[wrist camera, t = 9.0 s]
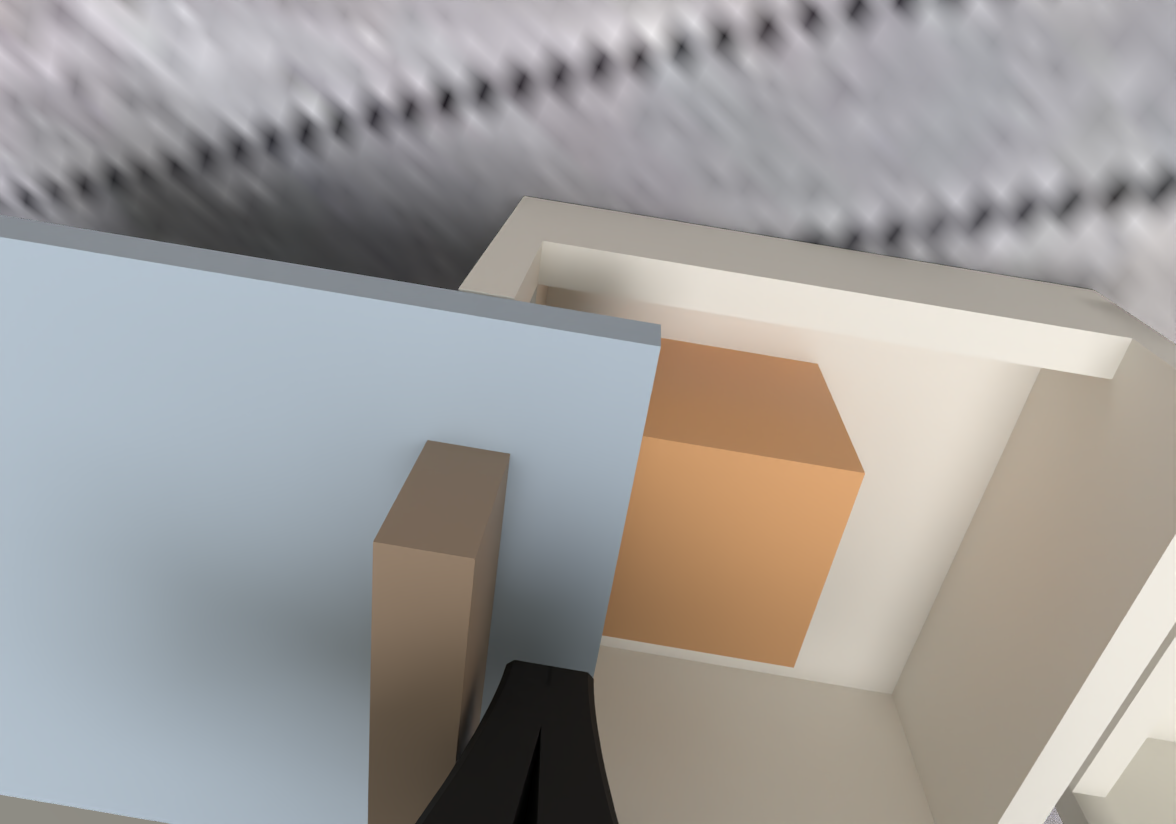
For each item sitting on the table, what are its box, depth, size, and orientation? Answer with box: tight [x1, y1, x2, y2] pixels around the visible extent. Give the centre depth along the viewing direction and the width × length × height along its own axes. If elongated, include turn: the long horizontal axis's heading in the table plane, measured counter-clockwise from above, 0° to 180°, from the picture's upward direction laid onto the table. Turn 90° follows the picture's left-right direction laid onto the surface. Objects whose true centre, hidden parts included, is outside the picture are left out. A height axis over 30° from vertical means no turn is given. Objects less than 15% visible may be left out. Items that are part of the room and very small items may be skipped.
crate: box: [458, 196, 1176, 824], centre depth 17 cm, size 12×12×6 cm
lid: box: [0, 215, 661, 824], centre depth 12 cm, size 12×12×3 cm
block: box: [602, 338, 865, 668], centre depth 16 cm, size 4×4×4 cm
